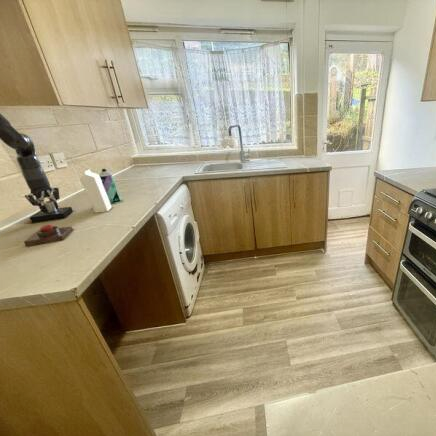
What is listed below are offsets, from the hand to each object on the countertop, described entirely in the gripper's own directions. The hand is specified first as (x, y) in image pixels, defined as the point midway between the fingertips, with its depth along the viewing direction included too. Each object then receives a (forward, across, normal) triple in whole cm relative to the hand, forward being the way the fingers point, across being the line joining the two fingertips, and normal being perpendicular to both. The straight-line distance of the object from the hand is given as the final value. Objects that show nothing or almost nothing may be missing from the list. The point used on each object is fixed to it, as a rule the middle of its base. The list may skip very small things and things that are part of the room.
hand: (50, 210), depth 123 cm
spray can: (+4, -23, +16) cm, 28 cm away
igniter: (+4, +20, +23) cm, 31 cm away
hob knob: (+1, 0, 0) cm, 1 cm away
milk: (+4, -10, +19) cm, 22 cm away
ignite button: (0, +20, +23) cm, 31 cm away
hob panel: (+4, 0, 0) cm, 4 cm away
